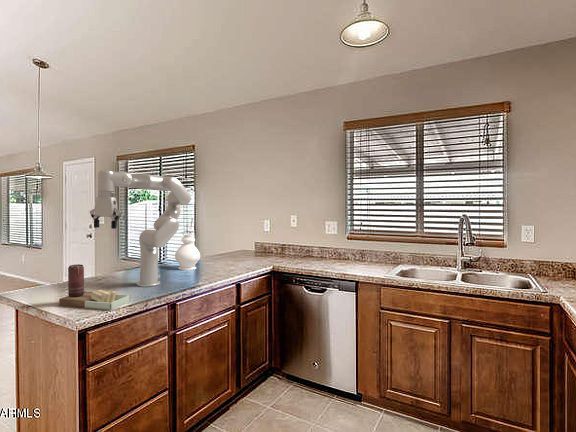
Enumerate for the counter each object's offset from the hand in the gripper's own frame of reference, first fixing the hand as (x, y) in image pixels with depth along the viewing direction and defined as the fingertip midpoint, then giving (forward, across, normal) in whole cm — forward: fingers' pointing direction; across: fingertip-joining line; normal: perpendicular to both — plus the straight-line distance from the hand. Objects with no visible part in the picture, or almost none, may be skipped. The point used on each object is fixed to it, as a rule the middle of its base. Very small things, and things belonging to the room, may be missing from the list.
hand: (105, 228), depth 172 cm
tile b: (+30, -14, +18) cm, 37 cm away
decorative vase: (+34, -12, -74) cm, 82 cm away
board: (+33, -3, +18) cm, 38 cm away
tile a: (+31, -11, +18) cm, 38 cm away
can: (+30, 0, +18) cm, 36 cm away
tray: (+33, -16, +18) cm, 41 cm away
